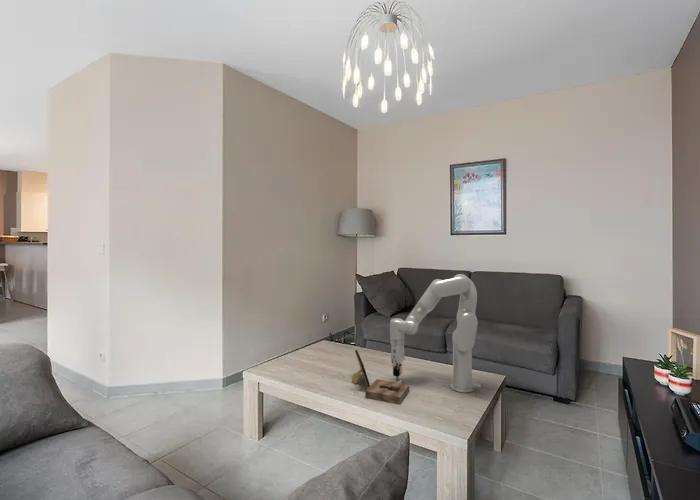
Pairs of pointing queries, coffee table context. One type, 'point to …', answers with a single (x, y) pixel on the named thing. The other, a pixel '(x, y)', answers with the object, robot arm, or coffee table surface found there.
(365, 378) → the picture frame
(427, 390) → the coffee table surface
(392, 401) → the keyhole board
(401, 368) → the peg
